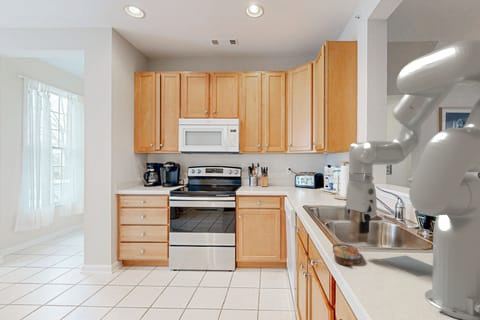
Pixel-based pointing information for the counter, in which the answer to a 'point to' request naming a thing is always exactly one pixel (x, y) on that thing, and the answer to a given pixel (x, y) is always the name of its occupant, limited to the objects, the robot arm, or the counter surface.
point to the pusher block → (357, 227)
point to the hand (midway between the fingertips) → (359, 230)
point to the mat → (410, 265)
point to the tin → (346, 255)
